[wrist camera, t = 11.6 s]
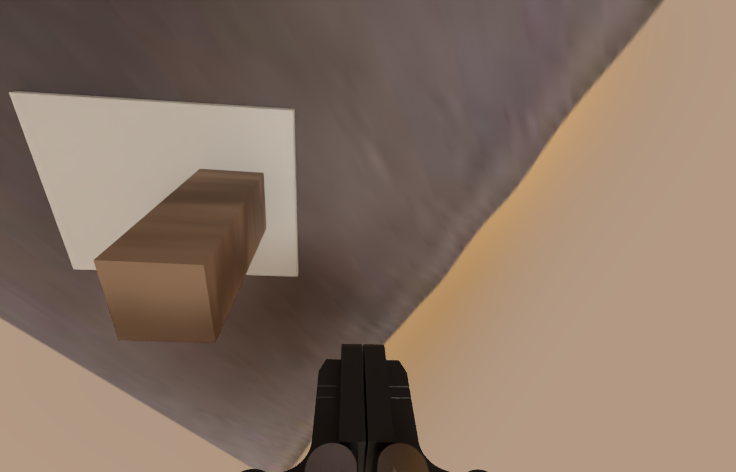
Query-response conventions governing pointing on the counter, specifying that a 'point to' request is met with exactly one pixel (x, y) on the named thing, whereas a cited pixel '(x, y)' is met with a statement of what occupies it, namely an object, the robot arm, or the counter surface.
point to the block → (185, 259)
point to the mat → (155, 164)
